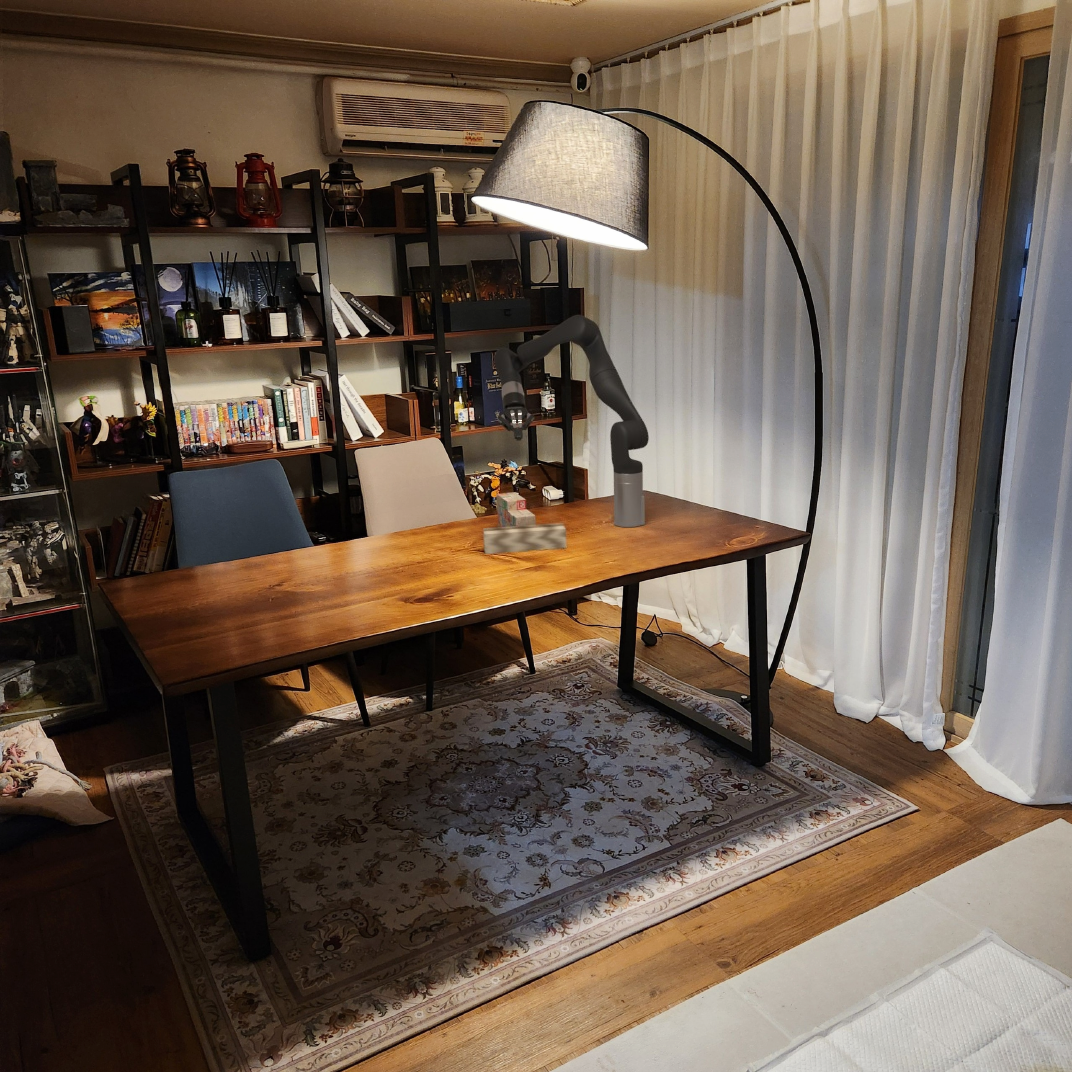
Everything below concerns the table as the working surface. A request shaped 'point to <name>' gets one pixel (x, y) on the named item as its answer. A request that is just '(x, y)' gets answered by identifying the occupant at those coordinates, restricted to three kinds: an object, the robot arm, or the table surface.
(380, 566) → the table surface
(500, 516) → the stack of blocks
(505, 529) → the grey zigzag-patterned beam
